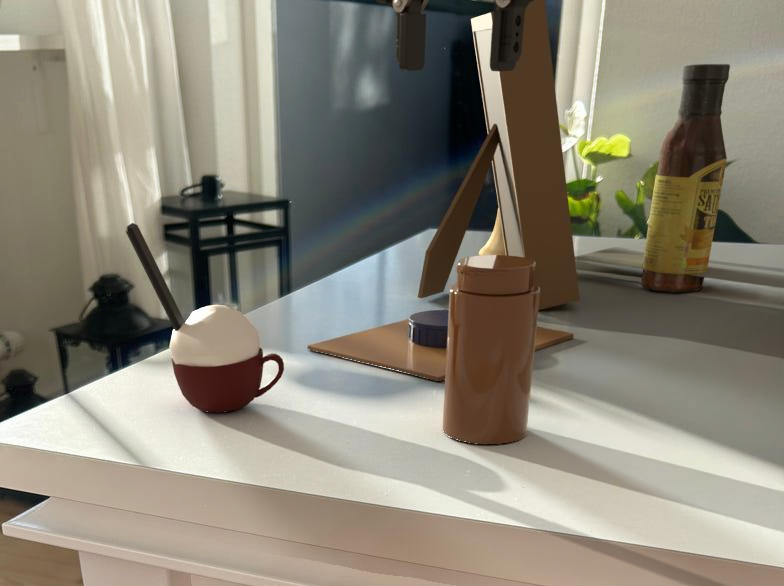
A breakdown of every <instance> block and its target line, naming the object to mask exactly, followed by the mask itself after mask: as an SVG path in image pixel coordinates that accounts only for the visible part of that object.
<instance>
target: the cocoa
mask: <svg viewBox="0 0 784 586" xmlns="http://www.w3.org/2000/svg"><path fill="white" fill-rule="evenodd" d="M125 234H126V236H127V237H128V240H129V241H130V244H131V245H132V248H133V250H134V252H135V253H136V256H137V258H138V260H139V261H140V264H141V265H142V268H143V270H144V272H145V273H146V276H147V277H148V279H149V281H150V283H151V286H152V288H153V290H154V292H155V294H156V296H157V297H158V299H159V302H160V304H161V306H162V308H163V310H164V312H165V314H166V317H167V318H168V320H169V322H170V325H171V327H172V328H173V330H172V333H171V336H170V337H171V338H170V342H169V351H170V354H171V363H172V368H173V374H174V377H175V379H176V382H177V385H178V388H179V390H180V391H181V394H182V396H183V398H184V399H185V400H186V401H187V402H188V403H189V404H190V405H191V407H193V408H196V409H197V410H199V409H200V410H199V411H201V410H203V411H202V412H204V411H208V412H207V413H210V412H222V413H225V412H224V411H230V412H233V411H232V410H234V411H238V410H241V409H243V408H245V407H247V406H248V405H249V404H250V403H251V402H253V401H254V400H255V399H256V398H259V397H261V396H263V395H264V394H266V393H267V392H268V391H270V390H271V389H272V388H273V387H274V386H276V384H277V383H278V382H279V380H280V379H281V378H282V376H283V374H284V371H285V363H284V359H283V358H282V356H280V355H279V354H277V353H268V354H266V355H264V352H263V351H264V349H263V348H261V339H260V335H259V330H258V329H257V328H256V327H255V326H254V325H253V324H252V323H251V321H250V320H249V319H248V318H247V317H246V316H245V315H244V314H243V312H241V311H240V310H235V309H232V308H230V307H228V306H227V305H225V304H223V305H222V304H213V305H206V306H204V307H200V308H199V309H196V310H194V311H192V312H191V314H190V316H189V317H188V318H187V319H186V320H185V319H184V317H183V315H182V313H181V311H180V309H179V307H178V304H177V303H176V300H175V299H174V297H173V295H172V292H171V289H170V288H169V287H168V284H167V282H166V280H165V279H164V276H163V274H162V272H161V270H160V268H159V266H158V264H157V262H156V260H155V258H154V256H153V254H152V251H151V250H150V247H149V246H148V244H147V242H146V239H145V237H144V235H143V233H142V231H141V229H140V227H139V225H138V224H136V223H134V222H131V223H130V224H128V225H127V226H126V229H125ZM269 361H273V362H275V363H277V366H278V371H277V372H276V375H275V376H274V377H273V378H272V379H271V380H269V381H268V383H266V385H264V386H263V387H261V384H262V380H263V372H264V364H265V363H267V362H269ZM237 409H238V410H237Z"/></svg>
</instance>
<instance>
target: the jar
mask: <svg viewBox="0 0 784 586" xmlns="http://www.w3.org/2000/svg"><path fill="white" fill-rule="evenodd" d="M535 268H536V263H535V261H533V260H531V259H528V258H524V257H518V256H507V255H483V256H479V255H473V256H467V257H464V258H461V259H459V260H458V261H457V266H456V267H455V270H454V271H455V272H456V283H454V284H452V285H451V286H450V287H449V297H448V310H449V314H448V333H447V352H446V371H445V380H444V393H443V408H442V409H443V411H442V428H443V429H442V432H443V431H444V432H443V434H444V433H445V434H447V435H448V436H450V437H452V438H454V439H458V440H460V441H466V442H470V443H477V444H476V445H478V444H499V445H502V444H501V443H507V442H512V443H514V442H513V441H515V442H518V441H521V440H522V439H523V438H525V437H526V435H527V432H528V424H529V423H528V422H529V412H530V401H531V391H532V390H531V388H532V380H533V370H534V360H535V351H536V350H535V339H536V329H537V327H538V319H539V317H538V316H539V310H538V308H539V298H540V288H539V287H538V286H536V285H534V279H535ZM534 350H535V351H534ZM445 434H444V435H445ZM448 436H447V437H448ZM454 439H453V440H454ZM517 440H518V441H517ZM460 441H459V442H460ZM507 444H508V443H507Z"/></svg>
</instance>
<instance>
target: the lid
mask: <svg viewBox="0 0 784 586" xmlns="http://www.w3.org/2000/svg"><path fill="white" fill-rule="evenodd" d="M448 314H449V309H446V310H444V309H433V310H431V309H430V310H423V311H419V312H415V313H413V314H411V315H409V318H408V319H409V323H408V338H409V340H410V341H411V342H413V343H415V344H418V345H422V346H428V347H441V348H447V333H448Z"/></svg>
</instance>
